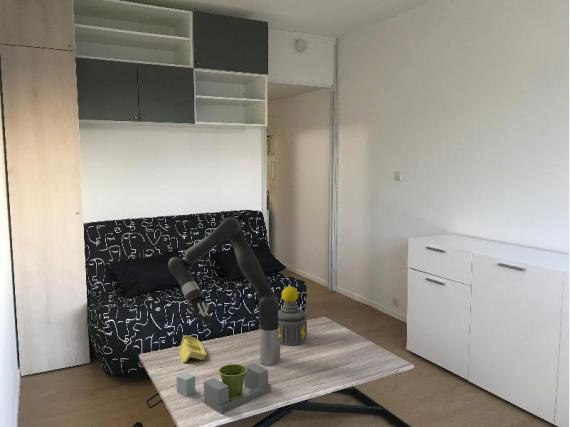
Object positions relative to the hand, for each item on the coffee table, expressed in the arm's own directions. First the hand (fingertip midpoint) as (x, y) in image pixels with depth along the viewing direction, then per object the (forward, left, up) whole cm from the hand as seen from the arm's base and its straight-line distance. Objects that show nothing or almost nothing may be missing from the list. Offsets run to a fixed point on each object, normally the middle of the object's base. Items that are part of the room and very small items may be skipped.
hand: (208, 324), depth 213 cm
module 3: (-8, +24, -24) cm, 35 cm away
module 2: (+13, +24, -24) cm, 37 cm away
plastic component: (-8, -26, -25) cm, 37 cm away
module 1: (+16, +5, -24) cm, 30 cm away
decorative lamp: (-58, -7, -25) cm, 64 cm away
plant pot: (+3, +22, -25) cm, 33 cm away
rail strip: (+3, +30, -24) cm, 39 cm away
